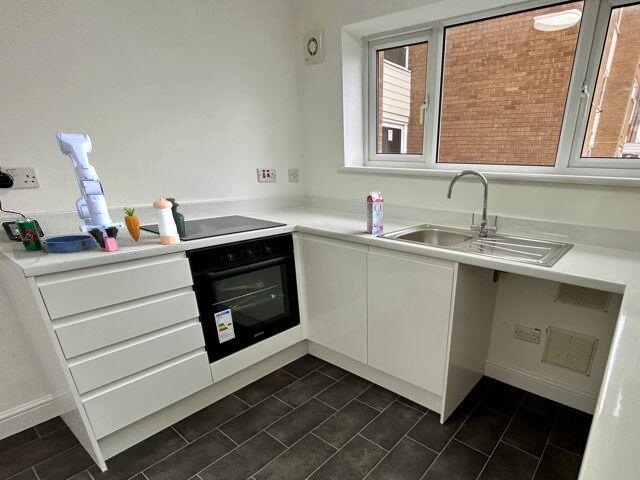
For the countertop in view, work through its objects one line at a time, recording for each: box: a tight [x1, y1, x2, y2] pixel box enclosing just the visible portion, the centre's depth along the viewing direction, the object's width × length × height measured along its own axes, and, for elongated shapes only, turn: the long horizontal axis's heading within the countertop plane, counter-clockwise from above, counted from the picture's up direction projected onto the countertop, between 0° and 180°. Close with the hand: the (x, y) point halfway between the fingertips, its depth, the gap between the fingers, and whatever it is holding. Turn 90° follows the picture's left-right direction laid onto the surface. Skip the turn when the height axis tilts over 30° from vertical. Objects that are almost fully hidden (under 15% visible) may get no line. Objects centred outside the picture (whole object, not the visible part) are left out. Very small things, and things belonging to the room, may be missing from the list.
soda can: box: [15, 217, 44, 252], centre depth 136 cm, size 5×5×12 cm
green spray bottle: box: [165, 197, 187, 239], centre depth 166 cm, size 8×8×18 cm
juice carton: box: [366, 191, 384, 235], centre depth 193 cm, size 7×7×22 cm
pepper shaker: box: [152, 197, 181, 245], centre depth 154 cm, size 7×7×19 cm
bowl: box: [41, 234, 97, 254], centre depth 141 cm, size 15×15×4 cm
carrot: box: [123, 206, 141, 242], centre depth 155 cm, size 5×5×15 cm
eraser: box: [99, 236, 119, 252], centre depth 141 cm, size 3×6×5 cm, turn 66°
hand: (108, 247), depth 141 cm, fingers closed on eraser, 3 cm apart
